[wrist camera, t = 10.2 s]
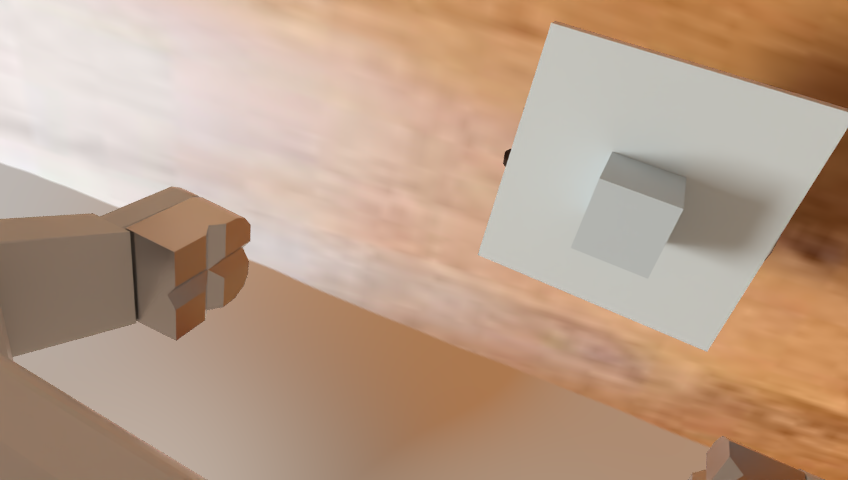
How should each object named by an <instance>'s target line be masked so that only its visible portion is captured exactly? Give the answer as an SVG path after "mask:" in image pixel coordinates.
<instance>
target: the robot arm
mask: <svg viewBox="0 0 848 480" xmlns="http://www.w3.org/2000/svg"><path fill="white" fill-rule="evenodd" d="M248 242H250V224H249V223H248V221H247V220H246V219H245V218H244V217H241V216H239V215H237V214H235V213H233V212H231V211H229V210H227V209H225V208H223V207H221V206H219V205H217V204H215V203H213V202H210V201H208V200H206V199H204V198H201V197H199V196H197V195H195V194H193V193H191V192H189V191H187V190H185V189H182V188H178V187H169V188H167V189H165V190H162V191H160V192H157V193H155V194H153V195H150V196H148V197H145V198H143V199H141V200H138V201H136V202H134V203H131V204H129V205H126V206H124V207H122V208H119V209H117V210H115V211H112V212H110V213H108V214H105V215H103V216H100V217H99V216H97V215H95V214H93V213H92V214H76V215H60V216H43V217H26V218H10V219H0V480H207V479H205V478H203V477H202V476H200V475H198V474H197V473H195V472H194V471H192V470H190V469H189V468H187V467H185V466H184V465H182V464H180V463H179V462H177V461H176V460H174V459H172V458H171V457H169V456H167V455H165V454H164V453H163V452H161V451H159V450H158V449H156V448H154V447H153V446H151V445H149V444H148V443H146V442H145V441H143V440H141V439H140V438H138V437H136V436H135V435H133V434H131V433H130V432H128V431H127V430H125V429H123V428H122V427H120V426H118V425H117V424H115V423H113V422H112V421H110V420H109V419H107V418H105V417H103V416H102V415H100V414H99V413H97V412H95V411H94V410H92V409H90V408H89V407H87V406H85V405H84V404H82V403H81V402H79V401H77V400H76V399H74V398H72V397H71V396H69V395H67V394H66V393H64V392H63V391H61V390H59V389H58V388H56V387H54V386H53V385H51V384H50V383H48V382H46V381H45V380H43V379H41V378H40V377H38V376H36V375H35V374H33V373H31V372H30V371H28V370H27V369H25V368H23V367H22V366H20V365H18V364H17V363H15V362H14V361H13V357H14V356H18V355H22V354H25V353H29V352H33V351H36V350H40V349H44V348H47V347H51V346H55V345H58V344H62V343H66V342H69V341H73V340H77V339H80V338H84V337H88V336H91V335H95V334H98V333H102V332H105V331H109V330H113V329H117V328H120V327H124V326H128V325H131V324H135V323H136V321H138V322H140V323H142V324H144V325H146V326H148V327H150V328H152V329H154V330H156V331H158V332H160V333H162V334H164V335H166V336H168V337H170V338H172V339H174V340H178V339H179V338H181V337H182V336H183V335H185V334H186V333H188V332H189V331H190V330H192V329H193V328H195V327H196V326H197V325H199V324H200V323H202V322H203V321H205V317H206V313H207V310H210V309H215V308H220V307H224V306H225V305H227V304H228V303H229V302H231V301H232V300H233V299H234V298H235V297H236V296H237V294H238V293H239V292H240V290H241V289H242V287H243V286H244V284H245V281H246V278H247V275H248V267H249V261H248V259H247V256H246V254H245V252H244V250H243V247H244V246H245V245H246V244H247V243H248ZM688 480H825V479H822V478H820V477H817V476H815V475H813V474H810V473H808V472H806V471H803V470H801V469H796V468H794V467H791V466H789V465H787V464H785V463H782V462H780V461H778V460H776V459H774V458H771V457H769V456H767V455H765V454H762V453H760V452H758V451H756V450H753V449H751V448H749V447H747V446H745V445H742V444H740V443H738V442H736V441H733V440H731V439H729V438H727V437H725V436H722V437H720V438H719V439H718V440H717V441H715V442H714V444H713V445H712V447H711V448H710V449H709V451H708V452H707V459H706V470H703V471H699V472H695V473H692V475H691V476H690V478H689V479H688Z"/></svg>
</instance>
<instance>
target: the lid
mask: <svg viewBox="0 0 848 480" xmlns="http://www.w3.org/2000/svg"><path fill="white" fill-rule="evenodd" d="M847 128H848V109H847V108H844V107H841V106H837V105H834V104H831V103H827V102H824V101H821V100H817V99H814V98H811V97H807V96H804V95H801V94H797V93H794V92H791V91H787V90H784V89H781V88H777V87H774V86H771V85H767V84H764V83H761V82H757V81H754V80H751V79H747V78H744V77H741V76H737V75H734V74H731V73H727V72H724V71H721V70H717V69H714V68H711V67H707V66H704V65H701V64H697V63H694V62H691V61H687V60H684V59H681V58H677V57H674V56H671V55H667V54H664V53H661V52H657V51H654V50H651V49H647V48H644V47H641V46H637V45H634V44H631V43H627V42H624V41H621V40H617V39H614V38H611V37H607V36H604V35H601V34H597V33H594V32H591V31H587V30H584V29H581V28H577V27H574V26H571V25H567V24H564V23H561V22H557V21H555V22H552V23H551V26H550V29H549V32H548V35H547V38H546V41H545V45H544V48H543V51H542V54H541V57H540V60H539V63H538V67H537V70H536V73H535V76H534V79H533V82H532V86H531V89H530V92H529V95H528V98H527V101H526V104H525V108H524V111H523V114H522V117H521V120H520V123H519V127H518V130H517V133H516V136H515V139H514V142H513V145H512V149H511V152H510V155H509V158H508V161H507V164H506V168H505V171H504V174H503V177H502V180H501V183H500V186H499V190H498V193H497V196H496V199H495V202H494V205H493V209H492V212H491V215H490V218H489V221H488V224H487V228H486V231H485V234H484V237H483V240H482V243H481V246H480V250H479V253H478V255H479V256H482V257H484V258H486V259H489V260H491V261H494V262H496V263H498V264H501V265H503V266H505V267H508V268H510V269H513V270H515V271H517V272H520V273H522V274H524V275H527V276H529V277H531V278H534V279H536V280H539V281H541V282H543V283H546V284H548V285H550V286H553V287H555V288H557V289H560V290H562V291H565V292H567V293H569V294H572V295H574V296H576V297H579V298H581V299H584V300H586V301H588V302H591V303H593V304H595V305H598V306H600V307H602V308H605V309H607V310H610V311H612V312H614V313H617V314H619V315H621V316H624V317H626V318H628V319H631V320H633V321H636V322H638V323H640V324H643V325H645V326H647V327H650V328H652V329H655V330H657V331H659V332H662V333H664V334H666V335H669V336H671V337H673V338H676V339H678V340H681V341H683V342H685V343H688V344H690V345H692V346H695V347H697V348H699V349H702V350H704V351H708V349H709V348H710V346H711V345H712V343H713V341H714V340H715V338H716V337H717V335H718V334H719V332H720V330H721V329H722V327H723V326H724V324H725V322H726V321H727V319H728V318H729V316H730V314H731V313H732V311H733V310H734V308H735V306H736V305H737V303H738V302H739V300H740V299H741V297H742V295H743V294H744V292H745V291H746V289H747V287H748V286H749V284H750V283H751V281H752V279H753V278H754V276H755V275H756V273H757V271H758V270H759V268H760V267H761V265H762V264H763V262H764V260H765V259H766V257H767V256H768V254H769V252H770V251H771V249H772V248H773V246H774V244H775V243H776V241H777V240H778V238H779V237H780V235H781V233H782V232H783V230H784V229H785V227H786V225H787V224H788V222H789V221H790V219H791V217H792V216H793V214H794V213H795V211H796V209H797V208H798V206H799V205H800V203H801V202H802V200H803V198H804V197H805V195H806V194H807V192H808V190H809V189H810V187H811V186H812V184H813V182H814V181H815V179H816V178H817V176H818V174H819V173H820V171H821V170H822V168H823V167H824V165H825V163H826V162H827V160H828V159H829V157H830V155H831V154H832V152H833V151H834V149H835V147H836V146H837V144H838V143H839V141H840V139H841V138H842V136H843V135H844V133H845V132H846V130H847Z"/></svg>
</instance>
